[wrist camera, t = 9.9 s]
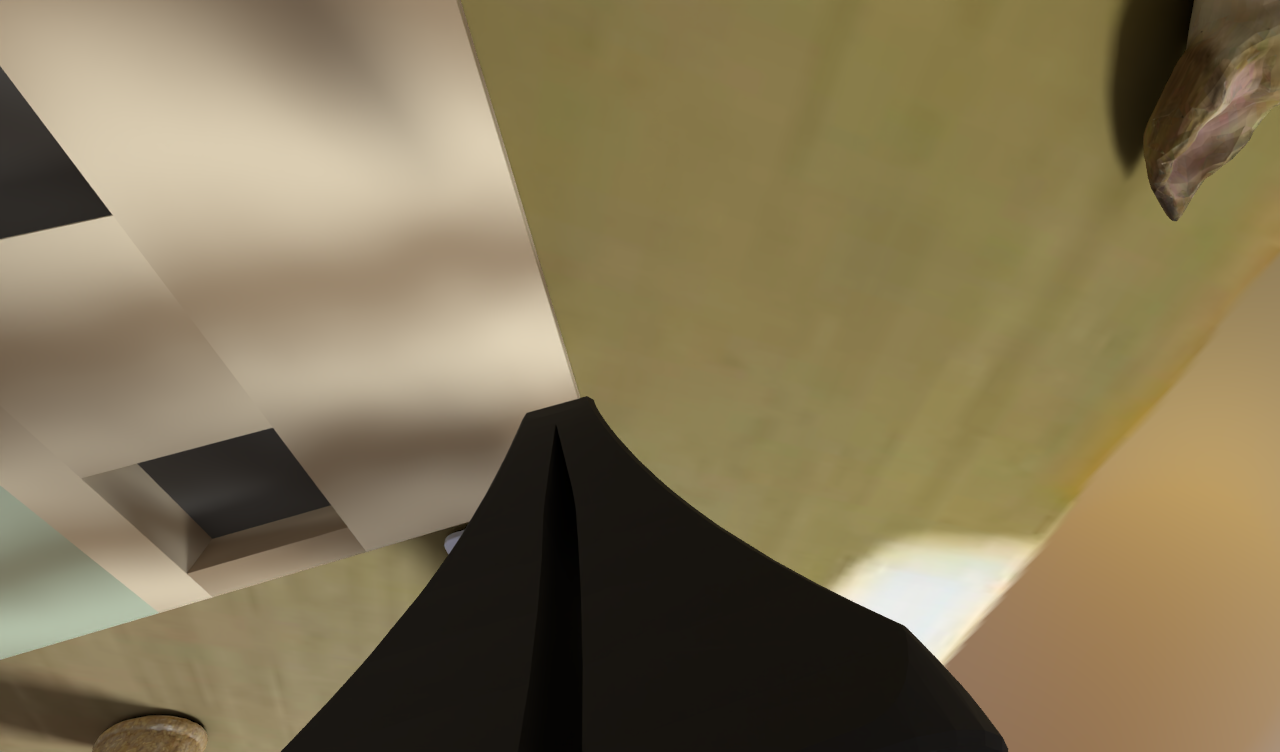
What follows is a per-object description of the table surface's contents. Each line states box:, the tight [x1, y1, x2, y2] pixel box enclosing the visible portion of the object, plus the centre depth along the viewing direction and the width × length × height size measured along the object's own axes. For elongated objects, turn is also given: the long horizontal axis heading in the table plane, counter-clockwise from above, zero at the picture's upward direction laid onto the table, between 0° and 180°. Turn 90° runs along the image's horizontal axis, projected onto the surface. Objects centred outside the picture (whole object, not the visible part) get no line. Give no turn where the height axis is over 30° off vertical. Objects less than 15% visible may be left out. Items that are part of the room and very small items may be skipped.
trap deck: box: [0, 0, 580, 660], centre depth 13 cm, size 20×26×4 cm
